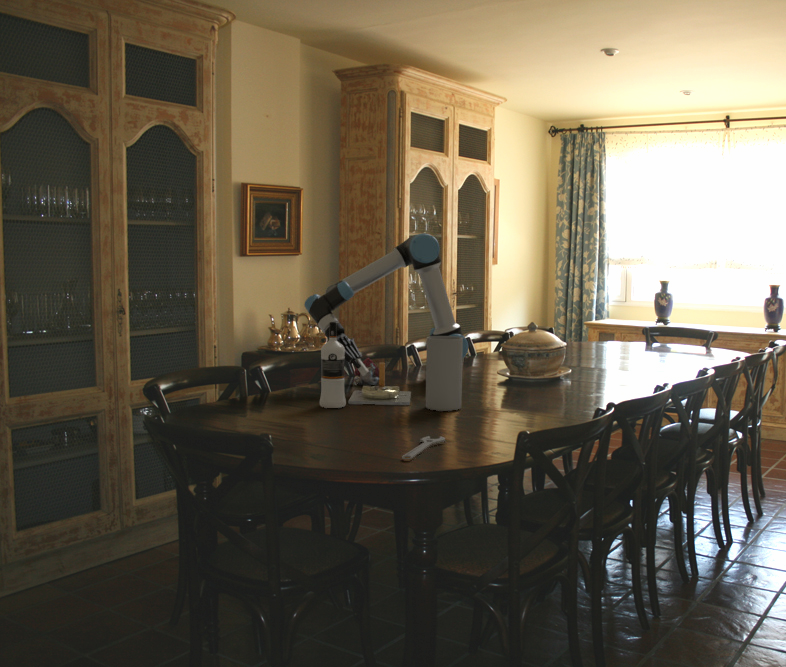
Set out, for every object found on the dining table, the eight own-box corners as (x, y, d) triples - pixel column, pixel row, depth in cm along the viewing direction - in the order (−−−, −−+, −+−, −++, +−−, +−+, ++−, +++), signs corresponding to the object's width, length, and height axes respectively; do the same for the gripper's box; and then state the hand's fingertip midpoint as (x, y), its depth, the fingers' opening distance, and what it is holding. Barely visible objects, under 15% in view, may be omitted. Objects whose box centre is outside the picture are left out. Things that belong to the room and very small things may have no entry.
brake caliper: (383, 376, 313) (380, 356, 304) (379, 395, 305) (376, 375, 297) (357, 375, 314) (354, 355, 306) (353, 394, 307) (349, 374, 298)
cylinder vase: (418, 407, 258) (419, 337, 256) (443, 403, 266) (445, 335, 264) (442, 413, 249) (444, 340, 247) (468, 409, 257) (470, 338, 255)
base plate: (410, 394, 284) (411, 390, 284) (409, 405, 262) (409, 401, 262) (354, 393, 285) (354, 389, 285) (348, 404, 263) (348, 400, 263)
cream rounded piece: (400, 392, 280) (400, 363, 279) (398, 399, 266) (399, 368, 265) (363, 391, 281) (364, 362, 280) (360, 398, 267) (360, 367, 266)
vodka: (347, 404, 263) (348, 321, 260) (343, 409, 253) (344, 323, 251) (322, 403, 264) (322, 320, 261) (317, 408, 254) (317, 322, 251)
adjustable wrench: (410, 464, 188) (410, 457, 187) (387, 461, 191) (387, 454, 190) (448, 442, 210) (448, 436, 210) (427, 440, 213) (427, 434, 213)
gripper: (336, 333, 297) (369, 377, 290) (316, 335, 286) (350, 381, 279) (347, 320, 294) (381, 365, 286) (327, 322, 283) (361, 369, 275)
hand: (365, 373), depth 283 cm, fingers closed
